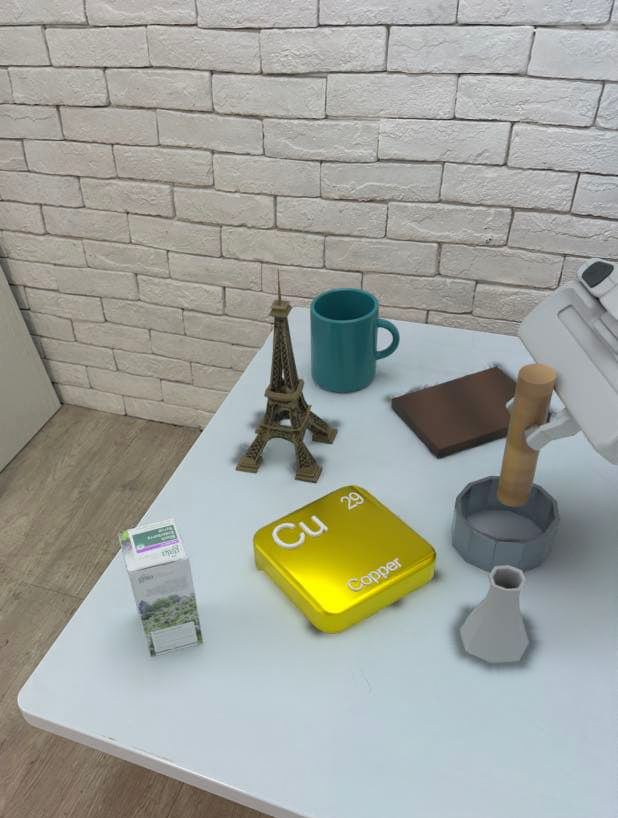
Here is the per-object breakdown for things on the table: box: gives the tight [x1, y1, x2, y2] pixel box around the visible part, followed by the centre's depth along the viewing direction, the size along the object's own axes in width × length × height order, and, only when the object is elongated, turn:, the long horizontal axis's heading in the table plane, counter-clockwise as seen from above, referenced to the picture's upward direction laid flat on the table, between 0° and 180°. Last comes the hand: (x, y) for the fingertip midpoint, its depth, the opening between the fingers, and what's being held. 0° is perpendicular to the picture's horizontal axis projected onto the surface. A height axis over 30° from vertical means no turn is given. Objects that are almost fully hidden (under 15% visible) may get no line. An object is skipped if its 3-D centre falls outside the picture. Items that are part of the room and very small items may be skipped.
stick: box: [497, 363, 556, 507], centre depth 77 cm, size 3×3×15 cm
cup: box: [309, 287, 401, 393], centre depth 110 cm, size 9×12×11 cm
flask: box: [459, 565, 530, 664], centre depth 76 cm, size 7×7×10 cm
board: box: [390, 365, 552, 459], centre depth 104 cm, size 16×12×2 cm
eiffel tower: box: [235, 268, 338, 484], centre depth 95 cm, size 11×11×25 cm
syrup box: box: [117, 517, 204, 657], centre depth 79 cm, size 6×6×14 cm
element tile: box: [252, 484, 437, 635], centre depth 86 cm, size 15×15×5 cm
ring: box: [450, 475, 561, 574], centre depth 86 cm, size 10×10×6 cm
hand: (519, 428), depth 76 cm, fingers closed on stick, 3 cm apart
